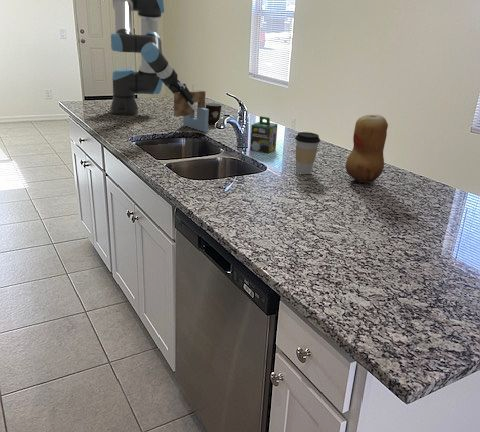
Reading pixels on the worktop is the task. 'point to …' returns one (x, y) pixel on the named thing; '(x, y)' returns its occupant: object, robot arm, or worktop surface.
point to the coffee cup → (306, 151)
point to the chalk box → (263, 136)
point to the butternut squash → (367, 148)
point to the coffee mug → (213, 112)
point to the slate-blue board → (197, 120)
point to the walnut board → (183, 107)
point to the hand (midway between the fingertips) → (192, 107)
